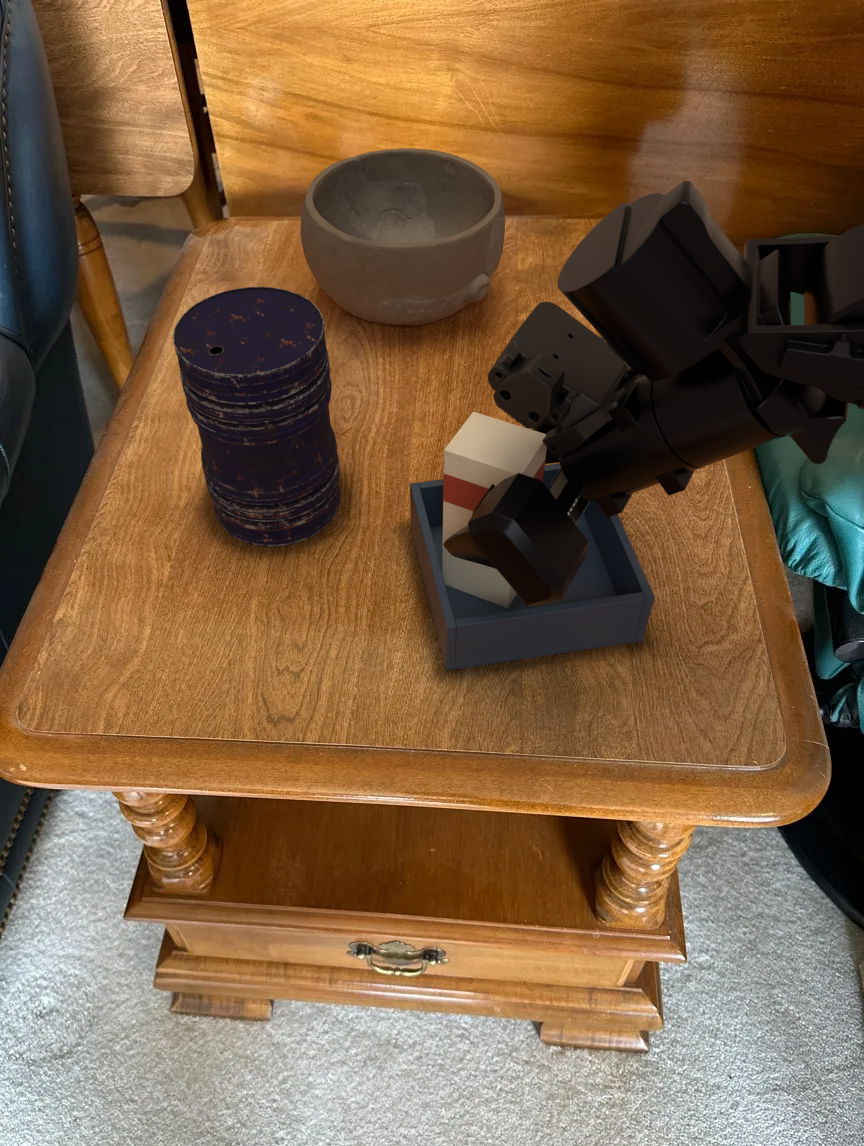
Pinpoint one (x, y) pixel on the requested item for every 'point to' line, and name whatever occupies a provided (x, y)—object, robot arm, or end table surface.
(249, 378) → the dark blue cylinder
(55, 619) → the end table surface
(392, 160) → the bowl
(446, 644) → the box
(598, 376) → the robot arm
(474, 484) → the plate
